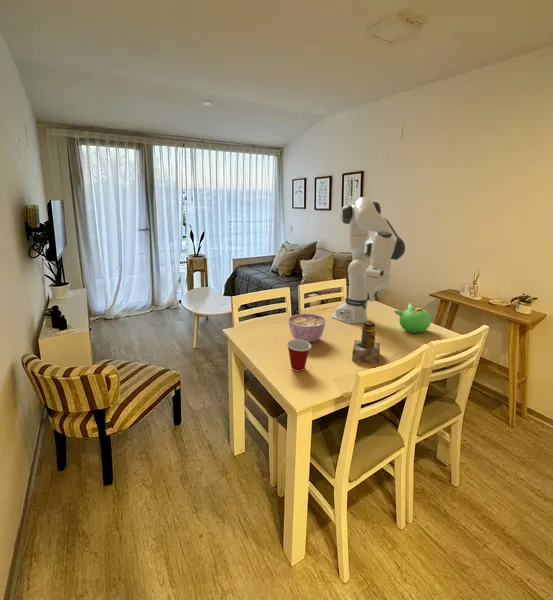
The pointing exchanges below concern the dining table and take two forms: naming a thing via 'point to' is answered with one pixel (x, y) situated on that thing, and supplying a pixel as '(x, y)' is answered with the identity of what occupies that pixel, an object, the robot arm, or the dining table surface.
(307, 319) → the bowl of food
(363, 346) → the condiment
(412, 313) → the toy bird
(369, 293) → the robot arm
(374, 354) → the walnut block
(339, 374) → the dining table surface
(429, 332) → the dining table surface
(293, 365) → the plastic cup
